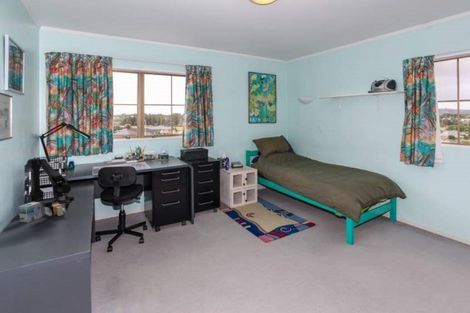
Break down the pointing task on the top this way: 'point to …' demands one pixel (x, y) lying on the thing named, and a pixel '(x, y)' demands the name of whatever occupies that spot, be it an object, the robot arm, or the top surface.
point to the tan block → (50, 212)
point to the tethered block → (57, 209)
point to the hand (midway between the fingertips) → (60, 212)
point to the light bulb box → (30, 212)
